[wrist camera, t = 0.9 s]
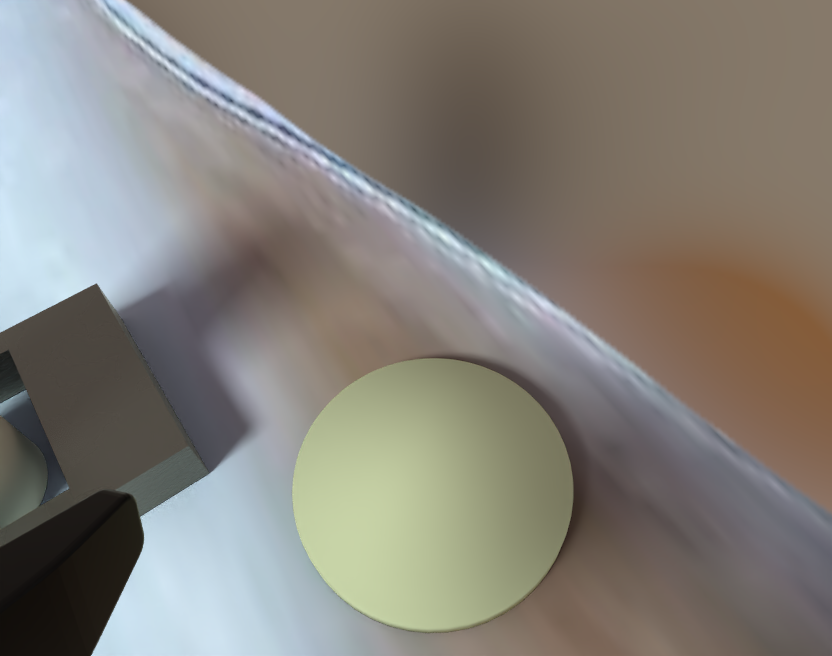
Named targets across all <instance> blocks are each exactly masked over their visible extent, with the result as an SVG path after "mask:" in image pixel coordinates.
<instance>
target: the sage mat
mask: <svg viewBox="0 0 832 656" xmlns="http://www.w3.org/2000/svg"><path fill="white" fill-rule="evenodd" d="M292 496H293V511H294V516H295V521H296V526H297V529H298V532H299V535H300V538H301V541H302V544H303V546H304V548H305V550H306V552H307V554H308V556H309V558H310V559H311V561H312V563H313V565H314V566H315V568H316V569H317V571H318V572H319V574H320V575H321V576H322V578H323V579H324V581H325V582H326V583H327V585H328V586H329V587H330V588H331V589H332V590H333V591H334V592H335V593H336V594H337V595H338V596H339V597H340V598H341V599H342V600H344V601H345V602H346V603H347V604H349V605H350V606H351V607H352V608H354V609H355V610H357V611H358V612H360V613H362V614H364V615H365V616H367V617H369V618H371V619H373V620H375V621H378V622H380V623H382V624H385V625H387V626H390V627H394V628H398V629H402V630H406V631H412V632H422V633H447V632H453V631H459V630H465V629H469V628H472V627H475V626H478V625H481V624H484V623H487V622H489V621H491V620H493V619H495V618H497V617H499V616H501V615H503V614H505V613H506V612H508V611H509V610H511V609H512V608H514V607H515V606H517V605H518V604H519V603H521V602H522V601H523V600H524V599H525V598H526V597H527V596H528V595H529V594H530V593H532V592H533V591H534V590H535V588H536V587H537V586H538V585H539V584H540V582H541V581H542V580H543V579H544V578H545V576H546V575H547V573H548V572H549V570H550V568H551V567H552V565H553V563H554V562H555V560H556V558H557V556H558V553H559V551H560V549H561V546H562V544H563V541H564V539H565V536H566V534H567V530H568V526H569V523H570V519H571V514H572V506H573V476H572V470H571V464H570V460H569V457H568V453H567V450H566V447H565V444H564V442H563V440H562V438H561V436H560V433H559V431H558V429H557V428H556V426H555V425H554V423H553V421H552V420H551V418H550V417H549V415H548V414H547V413H546V412H545V410H544V409H543V408H542V407H541V405H540V404H539V403H538V402H537V401H536V400H535V399H534V398H533V397H532V396H531V395H530V394H529V393H528V392H526V391H525V390H524V389H522V388H521V387H520V386H518V385H517V384H516V383H514V382H513V381H511V380H510V379H508V378H506V377H504V376H503V375H501V374H499V373H497V372H495V371H492V370H490V369H488V368H485V367H483V366H479V365H476V364H473V363H469V362H464V361H459V360H453V359H441V358H428V359H415V360H409V361H403V362H399V363H395V364H392V365H388V366H385V367H383V368H380V369H378V370H375V371H373V372H371V373H369V374H367V375H365V376H363V377H362V378H360V379H358V380H356V381H355V382H353V383H352V384H351V385H349V386H348V387H346V388H345V389H343V390H342V391H341V392H340V393H339V394H338V395H337V396H336V397H335V398H333V399H332V400H331V401H330V402H329V404H328V405H327V406H326V407H325V408H324V409H323V410H322V412H321V413H320V414H319V415H318V417H317V418H316V420H315V421H314V423H313V424H312V426H311V427H310V429H309V431H308V433H307V435H306V437H305V439H304V441H303V443H302V446H301V449H300V452H299V455H298V457H297V462H296V466H295V471H294V476H293V489H292Z"/></svg>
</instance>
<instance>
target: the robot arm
mask: <svg viewBox="0 0 832 656" xmlns="http://www.w3.org/2000/svg"><path fill="white" fill-rule="evenodd" d="M143 544H144V532H143V528H142V523H141V519H140V515H139V510H138V506H137V502H136V499H135V498H134V496H133V495H132V494H129V493H126V492H121V491H116V490H112V489H103V490H100V491H98V492H96V493H94V494H92V495H90V496H89V497H87V498H85V499H83V500H82V501H80V502H78V503H76V504H74V505H73V506H71V507H69V508H67V509H66V510H64V511H62V512H60V513H59V514H57V515H55V516H53V517H52V518H50V519H48V520H46V521H44V522H43V523H41V524H39V525H37V526H36V527H34V528H32V529H30V530H29V531H27V532H25V533H23V534H21V535H20V536H18V537H16V538H14V539H13V540H11V541H9V542H7V543H6V544H4V545H2V546H0V656H91V655H92V653H93V651H94V649H95V647H96V645H97V643H98V641H99V639H100V637H101V635H102V633H103V631H104V629H105V627H106V625H107V622H108V620H109V618H110V616H111V614H112V612H113V610H114V608H115V606H116V604H117V602H118V600H119V597H120V595H121V593H122V591H123V589H124V587H125V585H126V583H127V581H128V579H129V577H130V575H131V572H132V570H133V568H134V566H135V564H136V562H137V560H138V558H139V556H140V554H141V551H142V548H143Z"/></svg>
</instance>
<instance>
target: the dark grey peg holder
mask: <svg viewBox="0 0 832 656" xmlns="http://www.w3.org/2000/svg"><path fill="white" fill-rule="evenodd" d="M25 389H26V390H27V392H28V395H29V397H30V399H31V401H32V404H33V406H34V408H35V411H36V413H37V415H38V417H39V420H40V422H41V424H42V427H43V429H44V431H45V433H46V436H47V438H48V440H49V442H50V445H51V447H52V449H53V452H54V454H55V456H56V458H57V461H58V463H59V465H60V468H61V470H62V472H63V474H64V477H65V479H66V481H67V484H68V486H69V488H70V489H68V490H66V491H64V492H63V493H61V494H59V495H58V496H56V497H54V498H53V499H51V500H49V501H48V502H46V503H44V504H43V505H41V506H39V507H37V508H36V509H34V510H32V511H31V512H29V513H27V514H26V515H24V516H22V517H21V518H19V519H17V520H16V521H14V522H12V523H10V524H9V525H7V526H5V527H4V528H2V529H0V546H2V545H4V544H6V543H7V542H9V541H11V540H13V539H14V538H16V537H18V536H20V535H21V534H23V533H25V532H27V531H29V530H30V529H32V528H34V527H36V526H37V525H39V524H41V523H43V522H44V521H46V520H48V519H50V518H52V517H53V516H55V515H57V514H59V513H60V512H62V511H64V510H66V509H67V508H69V507H71V506H73V505H74V504H76V503H78V502H80V501H82V500H83V499H85V498H87V497H89V496H90V495H92V494H94V493H96V492H98V491H100V490H103V489H112V490H116V491H121V492H126V493H129V494H132V495H133V496H134V498H135V499H136V502H137V506H138V510H139V515H140V516H141V515H143V514H145V513H146V512H148V511H149V510H151V509H153V508H154V507H156V506H157V505H159V504H161V503H162V502H164V501H165V500H167V499H169V498H170V497H172V496H174V495H175V494H177V493H178V492H180V491H182V490H183V489H185V488H186V487H188V486H190V485H191V484H193V483H194V482H196V481H198V480H199V479H201V478H202V477H204V476H206V475H207V474H209V472H208V470H207V468H206V466H205V465H204V463H203V461H202V459H201V458H200V456H199V454H198V452H197V451H196V449H195V447H194V445H193V444H192V442H191V440H190V438H189V437H188V435H187V433H186V431H185V429H184V428H183V426H182V424H181V422H180V421H179V419H178V417H177V415H176V414H175V412H174V410H173V408H172V407H171V405H170V403H169V401H168V400H167V398H166V396H165V394H164V393H163V391H162V389H161V387H160V386H159V384H158V382H157V380H156V379H155V377H154V375H153V373H152V372H151V370H150V368H149V366H148V364H147V363H146V361H145V359H144V357H143V356H142V354H141V352H140V350H139V349H138V347H137V345H136V343H135V342H134V340H133V338H132V336H131V335H130V333H129V331H128V329H127V328H126V326H125V324H124V322H123V321H122V319H121V317H120V316H119V314H118V313H117V312H116V310H115V309H114V307H113V306H112V304H111V303H110V302H109V300H108V299H107V297H106V296H105V295H104V293H103V292H102V290H101V289H100V287H99V286H98V285H97V284H95V285H93V286H91V287H89V288H87V289H85V290H83V291H81V292H79V293H77V294H75V295H73V296H71V297H69V298H67V299H65V300H63V301H61V302H59V303H58V304H56V305H54V306H52V307H50V308H48V309H46V310H44V311H42V312H40V313H38V314H36V315H34V316H32V317H30V318H28V319H26V320H24V321H22V322H20V323H18V324H16V325H15V326H13V327H11V328H9V329H7V330H5V331H3V332H1V333H0V403H1V402H3V401H4V400H6V399H8V398H10V397H12V396H14V395H16V394H17V393H19V392H21V391H23V390H25Z"/></svg>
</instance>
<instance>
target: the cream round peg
mask: <svg viewBox="0 0 832 656" xmlns="http://www.w3.org/2000/svg"><path fill="white" fill-rule="evenodd" d="M47 480H48V469H47V463H46V460H45V457H44V455H43V454H42V452H41V450H40V449H39V448H38V447H37V446H36V445H35V444H34V443H33V442H32V441H31V440H29V439H28V438H27V437H26V436H25V435H23V434H22V433H21V432H20V431H19V430H17V429H16V428H15V427H14V426H13V425H11V424H10V423H9V422H8V421H7V420H5V419H4V418H3V417H2V416H1V415H0V529H2V528H4V527H5V526H7V525H9V524H10V523H12V522H14V521H16V520H17V519H19V518H21V517H22V516H24V515H26V514H27V513H29V512H31V511H32V510H34V509H36V508H37V507H39V506H40V504H41V502H42V499H43V497H44V494H45V491H46V487H47Z"/></svg>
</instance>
